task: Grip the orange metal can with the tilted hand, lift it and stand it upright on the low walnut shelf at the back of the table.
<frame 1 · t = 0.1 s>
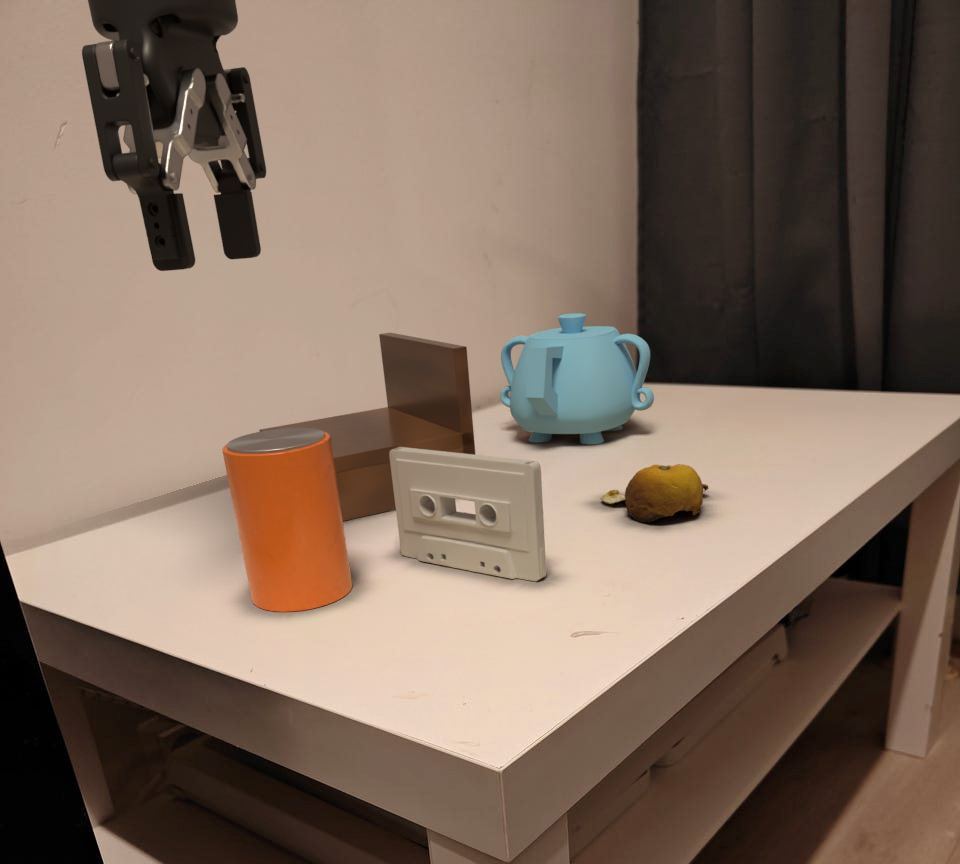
hand: (211, 263, 55), 20 cm above the table, tool pointing down, fingers open, 8 cm apart
fruit: (664, 508, 72), on the table
can: (302, 591, 62), on the table
shelf: (369, 487, 84), on the table
cassette: (470, 569, 64), on the table
teapot: (578, 434, 97), on the table
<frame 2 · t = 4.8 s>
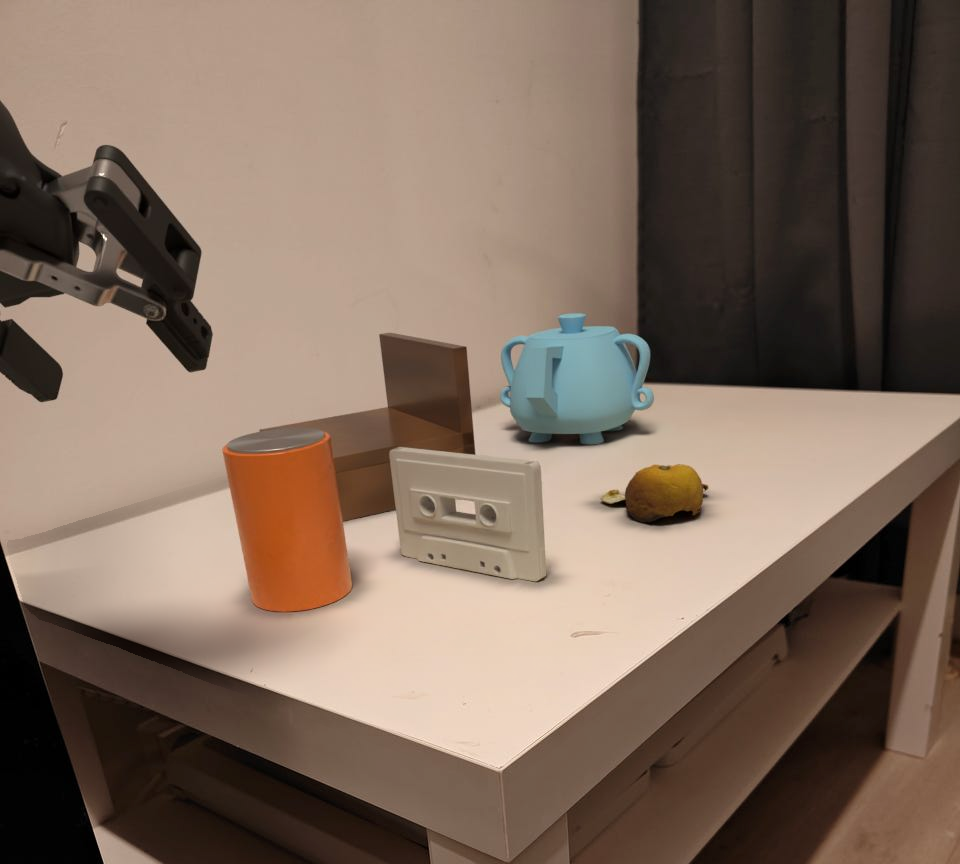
hand: (126, 372, 46), 16 cm above the table, tool tilted 40°, fingers open, 8 cm apart
nothing on the table moved.
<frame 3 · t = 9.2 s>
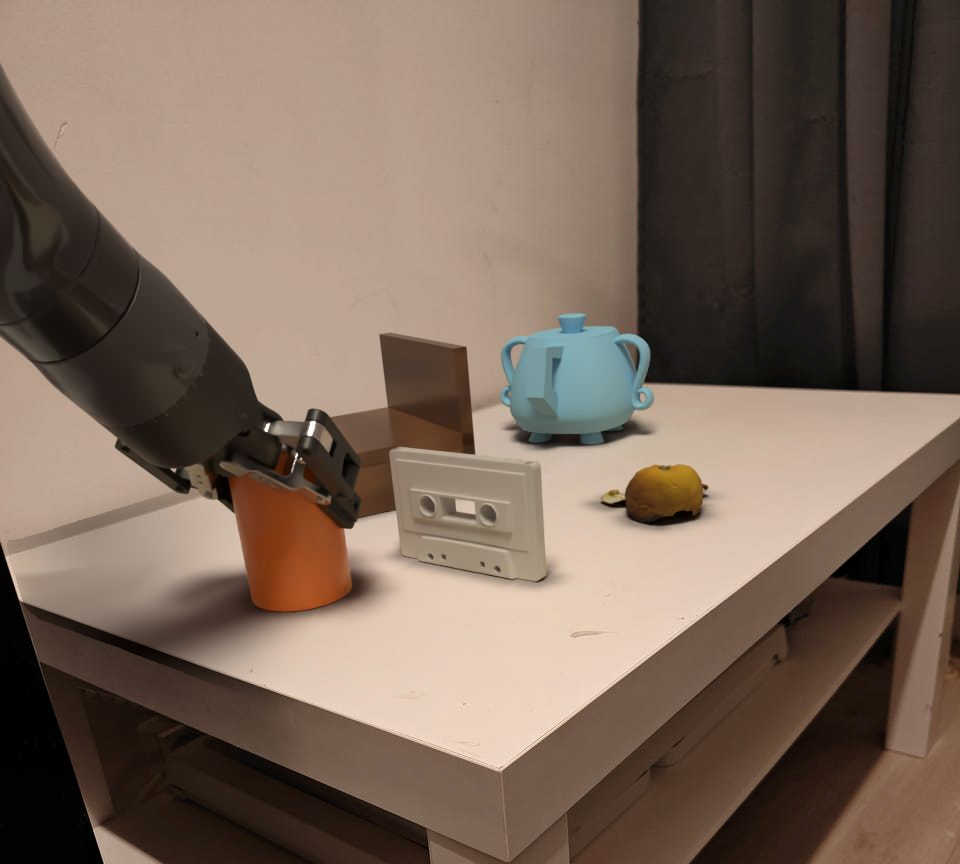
hand: (303, 513, 61), 5 cm above the table, tool tilted 45°, fingers closed on can, 6 cm apart
can: (302, 591, 62), on the table, touching gripper
everything else where it was.
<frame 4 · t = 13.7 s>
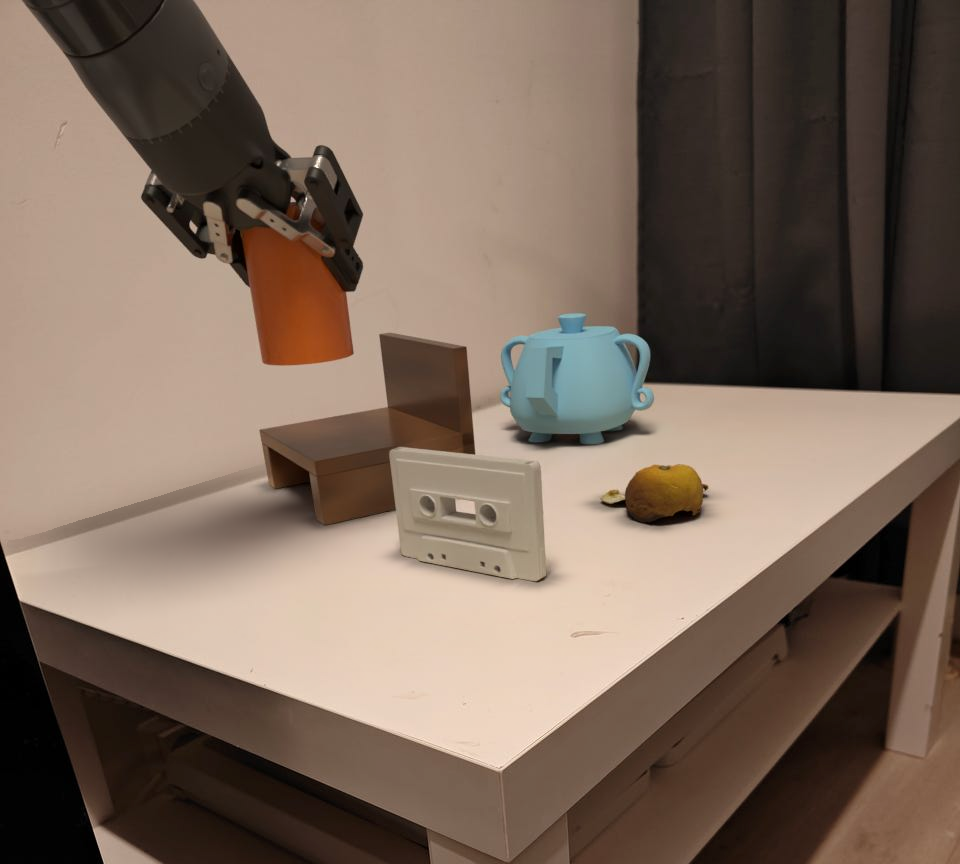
hand: (309, 283, 67), 18 cm above the table, tool tilted 45°, fingers closed on can, 6 cm apart
can: (308, 357, 68), point 13 cm above the table, touching gripper
everything else where it was.
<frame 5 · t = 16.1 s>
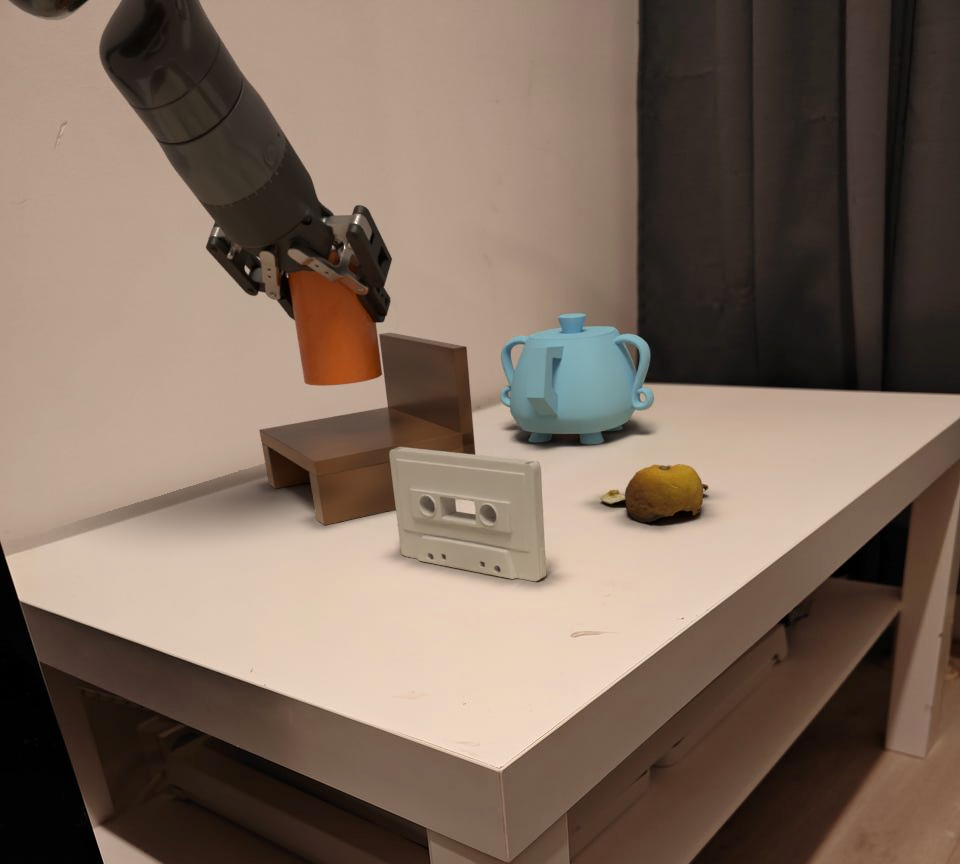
hand: (344, 315, 79), 15 cm above the table, tool tilted 45°, fingers closed on can, 6 cm apart
can: (343, 378, 79), point 10 cm above the table, touching gripper
everything else where it was.
when the fingers open (10 cm above the table, at t = 18.1 s): can stays where it is, resting on shelf.
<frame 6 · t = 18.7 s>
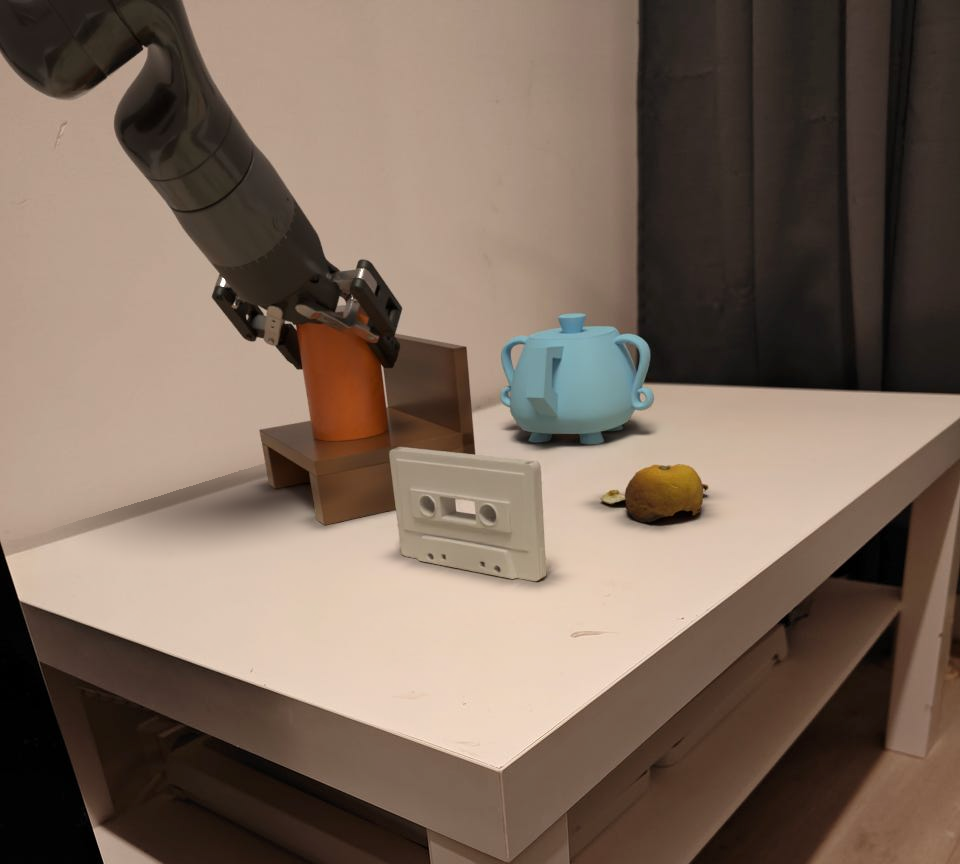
hand: (347, 360, 80), 11 cm above the table, tool tilted 45°, fingers open, 8 cm apart
can: (351, 432, 81), point 5 cm above the table, touching shelf
everything else where it was.
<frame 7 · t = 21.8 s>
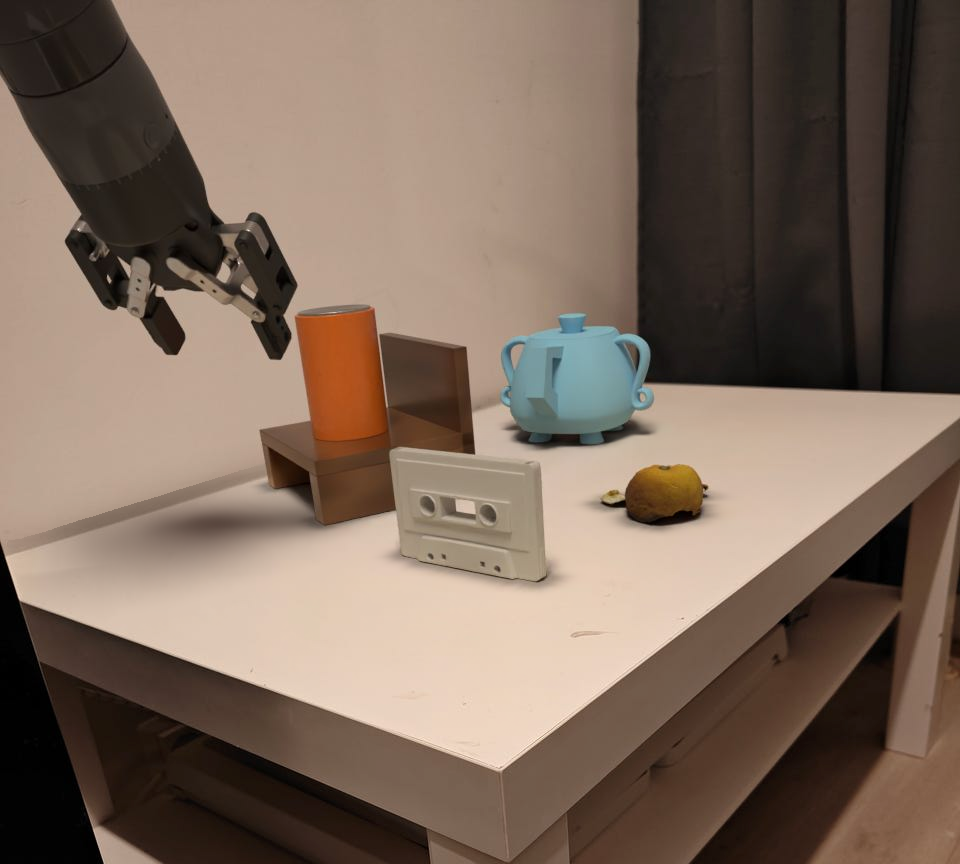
hand: (227, 349, 68), 14 cm above the table, tool tilted 35°, fingers open, 8 cm apart
nothing on the table moved.
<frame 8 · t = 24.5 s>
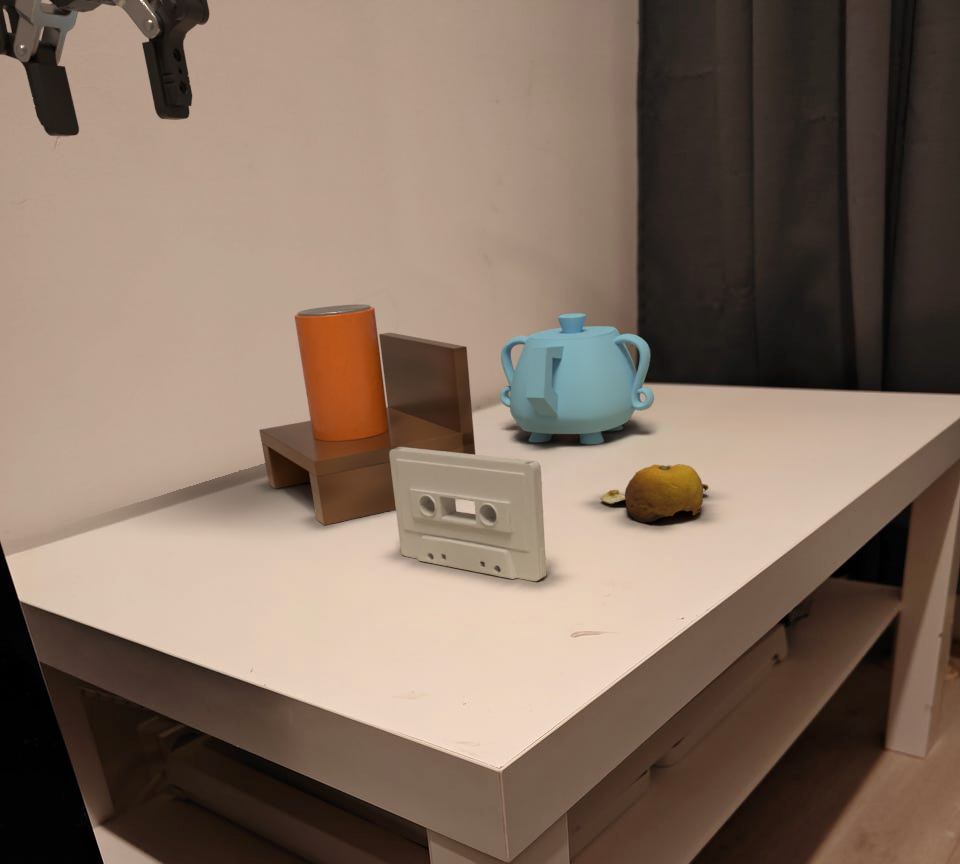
hand: (116, 127, 56), 28 cm above the table, tool pointing down, fingers open, 8 cm apart
nothing on the table moved.
at the end: can inside the target area on the shelf (0.8 cm from its centre), point 5.2 cm above the shelf's base; can tilted 0°; the gripper is holding nothing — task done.
